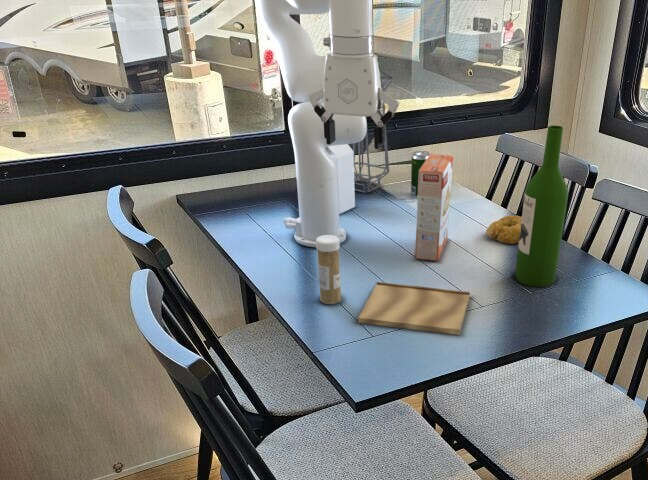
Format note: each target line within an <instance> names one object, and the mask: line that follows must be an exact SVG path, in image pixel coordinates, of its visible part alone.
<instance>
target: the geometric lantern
mask: <svg viewBox="0 0 648 480" xmlns="http://www.w3.org/2000/svg"><path fill="white" fill-rule="evenodd" d="M378 67H379V66H378ZM379 73H382V74H384V75H385V76H380V82H381V90H382V91H383V92H386V90H387V89H388V88H389V87H390V86H391V85H392V83H394V81H395V80H397V77H396V76H394V75H392V74H391V73H389V72H387V71H386V70H384V69H383V68H381V66H380V67H379ZM386 79H387V80H386ZM383 80H385V81H384V82H383ZM385 85H386V86H385ZM380 110H381V112H382V113H383V115H385V114H386V103H384V102H383V101H382V105H381V109H380ZM366 123H367V120H366ZM367 124H368V123H367ZM387 138H388V137H387V125H386V124H385V143H384V144H383V146H384V163H385V164H384V166H381V165H376V164H372V163H370V152H369V151H370V150H369V138H368V131H367V132H366V135H365V146H366V147H365V149H366V160H367V161H366V162H367V163H366V162H364V139H363V140H362V141H360V142H358V143H357V144H358V162H356V143H353V144H352V150H353V151H354V172H355V173H354V185H359V186H363V190H361V189H358V188H357V189H356V188H354V189H355V191H356V192H360V193H364V194H366V193H370V192H373V191H374V190H376V189H379V188H381V187H382V185H381V180H382V179H383V178H384V177H386V176H387V175H388V174H389V173H390V161H389V151H388V150H389V149H388V139H387ZM356 165H358V169H357V167H356ZM364 166H367V174H363V173H362V170H363V167H364ZM371 167H373V168H376V169H377V168H378V169H381V170H382V169H383V171H382V172H381V173H379V174H376V175H371ZM362 176H363V177H366V178H362ZM373 179H375V180H373ZM371 180H372V181H371ZM359 182H361V183H359ZM376 182H377V183H376ZM371 184H372V185H376V187H374V188H371V189H370V185H371ZM366 187H367V188H366ZM366 189H367V191H366Z"/></svg>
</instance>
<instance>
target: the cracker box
mask: <svg viewBox="0 0 648 480" xmlns="http://www.w3.org/2000/svg"><path fill="white" fill-rule="evenodd" d="M453 165H454V156H453V155H450V154H439V153H430V155H429V156H428V158H427V159H426V161H425V162H424V164H423V165H422V167H421V168H420V170H419V177H418V198H417V200H416V201H417V203H416V204H417V205H416V223H415V225H416V228H415V249H414V250H415V252H414V256H415V257H414V259H415V260H425V261H430V262H431V261H433V262H439V260H440V257H441V254H442V253H443V250H444V249H445V245H446V244H447V241H448V235H449V222H450V221H449V220H450V210H451V209H450V208H451V207H450V206H451V195H452V194H451V193H452V180H453V179H452V177H453Z"/></svg>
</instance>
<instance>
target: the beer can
mask: <svg viewBox="0 0 648 480" xmlns="http://www.w3.org/2000/svg"><path fill="white" fill-rule="evenodd" d="M430 154H431V153H430V151H426V150H414V151H413V152H412V155H411V167H410V171H411V172H410V195H411V197H412V198H415V199H418V177H419V170H420V168H421V167H422V165H423V164H424V162H425V161H426V159H427V158H428V156H429V155H430Z"/></svg>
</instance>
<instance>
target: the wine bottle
mask: <svg viewBox="0 0 648 480" xmlns="http://www.w3.org/2000/svg"><path fill="white" fill-rule="evenodd" d="M563 131H564V127H563V126H561V125H548V127H547V132H546V138H545V139H546V140H545V146H544V152H543V160H542V165H541V167H539V169H538V170H537V172H536V173H535V174H534V175H533V177H532V178H531V179H530V180H529V182H528V183H527V185H526V188H525V191H524V197H523V205H522V214H521V217H522V220H521V229H520V237H519V243H518V247H517V255H516V265H515V270H514V271H515V272H514V275H515V279H516V281H517V282H519V283H520V284H522V285H525V286H528V287H533V288H534V287H535V288H541V287H548V286H551V285H552V284H553V283H554V282H555V280H556V276H557V270H558V264H559V257H560V252H561V251H560V250H561V244H562V237H563V233H564V231H563V230H564V225H565V219H566V213H567V206H568V199H569V188H568V184H567V183H566V180H565V179H564V176H563V173H562V172H561V169H560V167H559V164H560V156H561V155H560V154H561V148H562V139H563Z"/></svg>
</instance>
